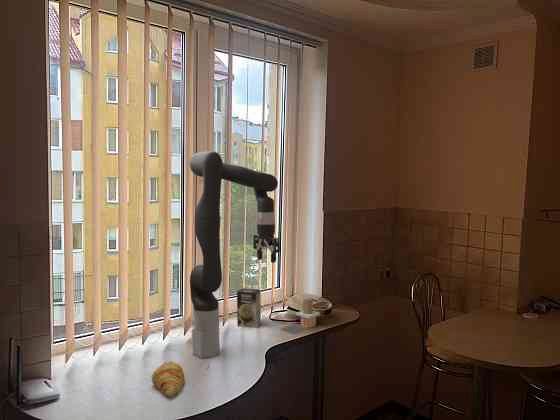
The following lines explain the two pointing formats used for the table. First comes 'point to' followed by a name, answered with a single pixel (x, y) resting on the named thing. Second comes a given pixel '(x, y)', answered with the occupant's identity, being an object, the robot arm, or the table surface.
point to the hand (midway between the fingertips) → (266, 260)
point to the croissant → (169, 378)
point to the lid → (308, 309)
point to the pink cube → (308, 322)
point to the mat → (294, 329)
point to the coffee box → (248, 308)
